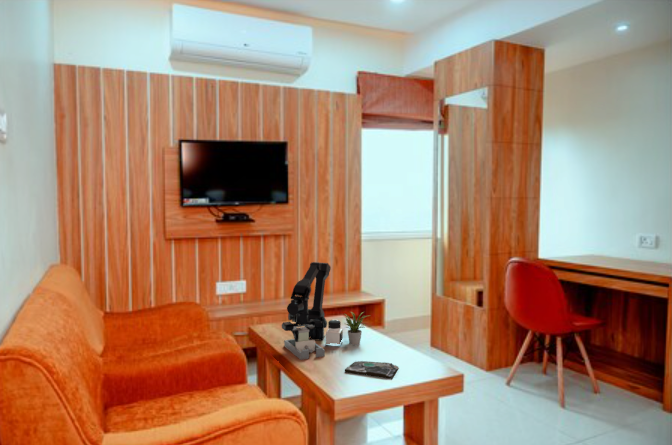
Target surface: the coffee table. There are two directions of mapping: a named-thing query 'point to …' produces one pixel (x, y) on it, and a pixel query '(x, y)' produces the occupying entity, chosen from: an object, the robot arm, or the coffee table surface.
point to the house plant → (354, 329)
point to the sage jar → (302, 334)
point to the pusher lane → (305, 353)
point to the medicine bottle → (334, 332)
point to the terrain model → (373, 369)
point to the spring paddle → (306, 345)
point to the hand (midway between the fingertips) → (301, 342)
